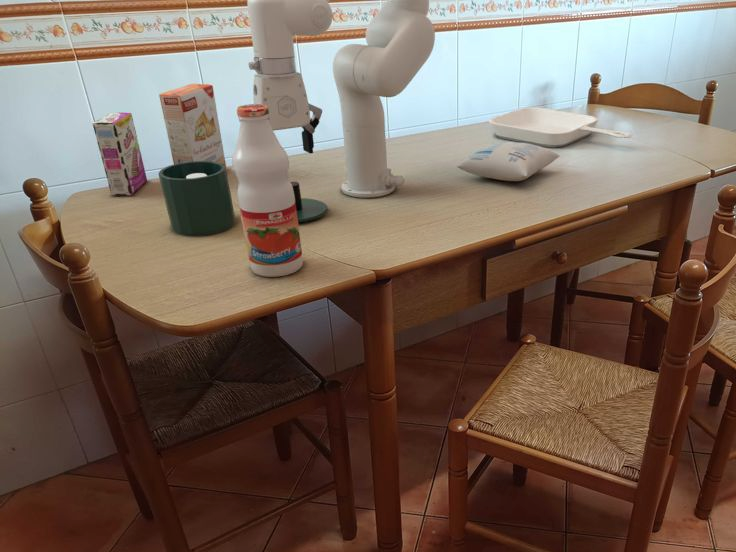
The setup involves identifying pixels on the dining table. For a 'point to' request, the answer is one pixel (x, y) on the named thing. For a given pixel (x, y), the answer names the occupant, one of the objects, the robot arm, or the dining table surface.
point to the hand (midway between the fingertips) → (287, 155)
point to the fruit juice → (265, 196)
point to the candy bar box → (120, 153)
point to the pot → (197, 198)
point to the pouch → (508, 161)
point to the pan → (547, 127)
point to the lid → (307, 206)
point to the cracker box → (192, 124)
